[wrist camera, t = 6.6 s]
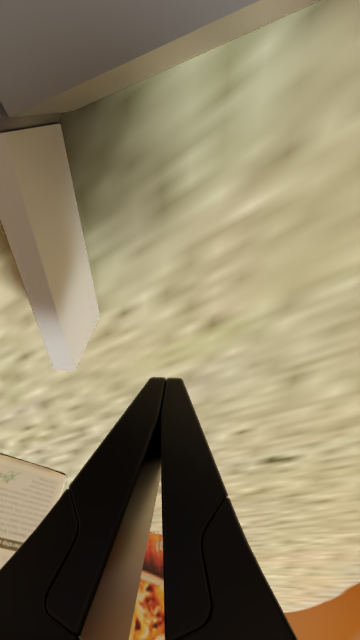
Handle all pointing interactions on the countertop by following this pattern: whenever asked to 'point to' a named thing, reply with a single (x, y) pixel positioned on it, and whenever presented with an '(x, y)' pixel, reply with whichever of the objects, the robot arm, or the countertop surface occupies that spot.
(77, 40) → the camera block
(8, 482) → the syrup box
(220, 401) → the countertop surface
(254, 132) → the countertop surface
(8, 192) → the side door
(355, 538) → the countertop surface
